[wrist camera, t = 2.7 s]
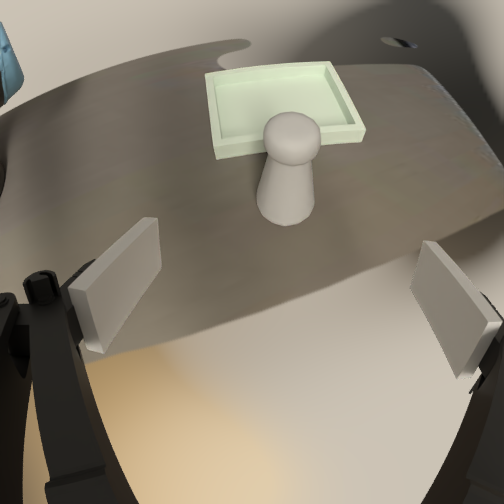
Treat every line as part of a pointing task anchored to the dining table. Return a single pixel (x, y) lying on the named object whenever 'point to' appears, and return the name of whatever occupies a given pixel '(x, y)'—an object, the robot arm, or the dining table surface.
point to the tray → (277, 104)
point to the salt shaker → (288, 168)
